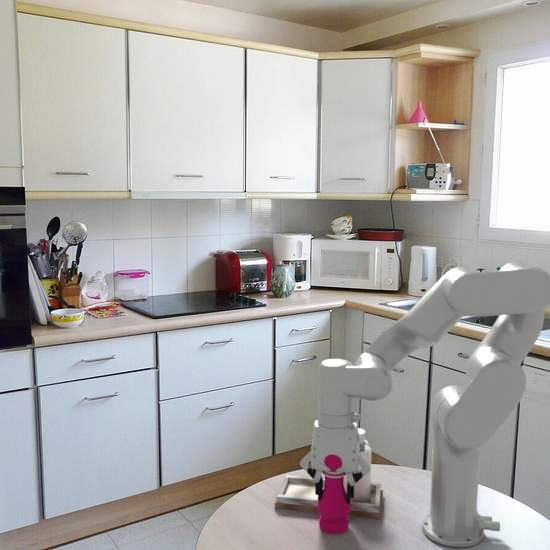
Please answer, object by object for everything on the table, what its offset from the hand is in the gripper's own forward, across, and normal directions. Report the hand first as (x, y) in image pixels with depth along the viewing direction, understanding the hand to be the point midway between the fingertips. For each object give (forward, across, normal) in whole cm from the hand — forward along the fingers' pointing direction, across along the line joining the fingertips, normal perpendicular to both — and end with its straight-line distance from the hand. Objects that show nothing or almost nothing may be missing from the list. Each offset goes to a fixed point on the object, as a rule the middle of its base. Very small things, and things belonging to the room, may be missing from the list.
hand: (334, 498), depth 135 cm
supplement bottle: (+7, -3, -23) cm, 24 cm away
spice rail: (+6, +2, -10) cm, 13 cm away
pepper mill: (+7, 0, 0) cm, 7 cm away
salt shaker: (+5, -4, -10) cm, 12 cm away
